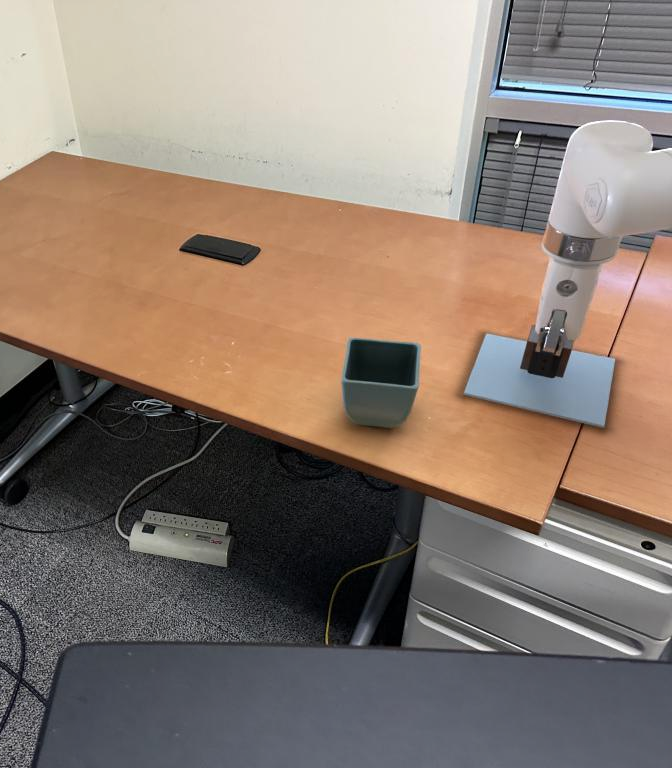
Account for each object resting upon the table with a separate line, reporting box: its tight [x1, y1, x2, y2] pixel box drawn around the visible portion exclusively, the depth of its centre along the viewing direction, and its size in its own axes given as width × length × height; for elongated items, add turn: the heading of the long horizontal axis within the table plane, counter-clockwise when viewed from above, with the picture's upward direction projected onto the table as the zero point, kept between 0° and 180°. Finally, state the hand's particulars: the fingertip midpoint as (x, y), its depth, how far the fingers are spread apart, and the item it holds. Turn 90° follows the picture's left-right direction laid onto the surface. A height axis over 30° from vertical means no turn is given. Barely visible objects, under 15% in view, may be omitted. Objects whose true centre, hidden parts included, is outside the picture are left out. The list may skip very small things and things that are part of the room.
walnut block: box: [520, 324, 575, 378], centre depth 88 cm, size 5×4×4 cm
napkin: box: [463, 333, 616, 429], centre depth 90 cm, size 16×14×1 cm
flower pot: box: [340, 337, 422, 429], centre depth 86 cm, size 9×9×9 cm
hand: (544, 362), depth 89 cm, fingers closed on walnut block, 4 cm apart
